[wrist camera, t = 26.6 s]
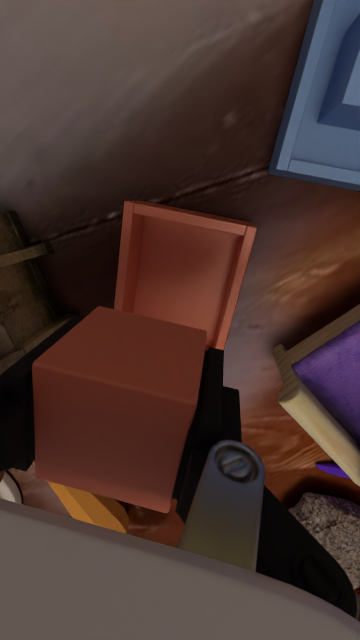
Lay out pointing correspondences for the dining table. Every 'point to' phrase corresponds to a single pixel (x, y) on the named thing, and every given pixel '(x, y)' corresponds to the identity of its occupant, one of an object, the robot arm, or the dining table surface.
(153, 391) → the red block
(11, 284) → the wooden crate
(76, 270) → the dining table surface
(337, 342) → the toy sofa
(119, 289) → the red bin
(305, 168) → the blue bin
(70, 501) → the carrot
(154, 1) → the dining table surface
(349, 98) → the blue block
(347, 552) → the stone
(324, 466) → the toy
